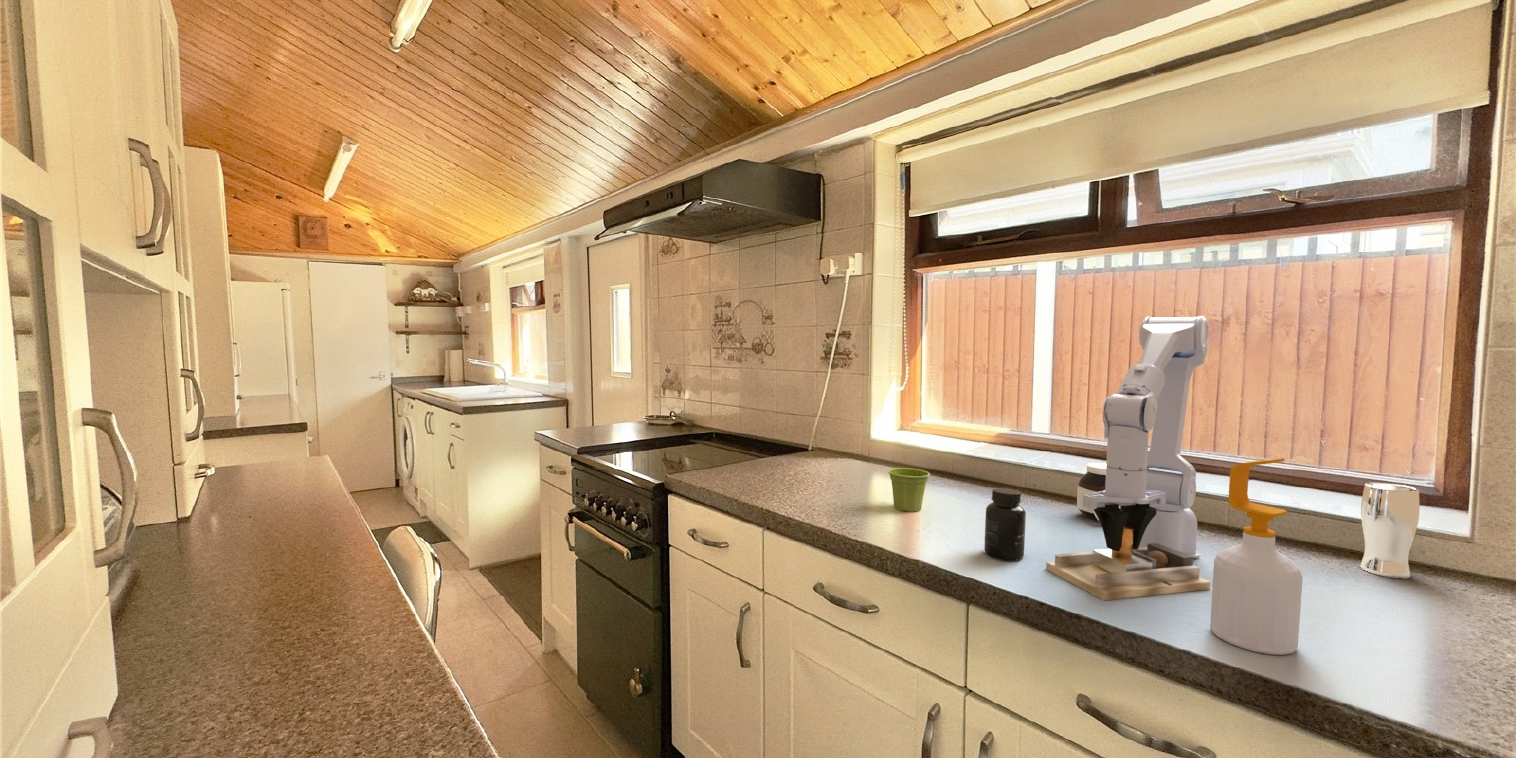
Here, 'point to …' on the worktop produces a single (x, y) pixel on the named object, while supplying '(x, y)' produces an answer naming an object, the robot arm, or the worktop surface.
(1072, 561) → the base
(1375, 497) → the beer glass
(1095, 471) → the spread jar
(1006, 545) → the supplement bottle
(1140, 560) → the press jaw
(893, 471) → the plant pot
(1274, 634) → the soap bottle
